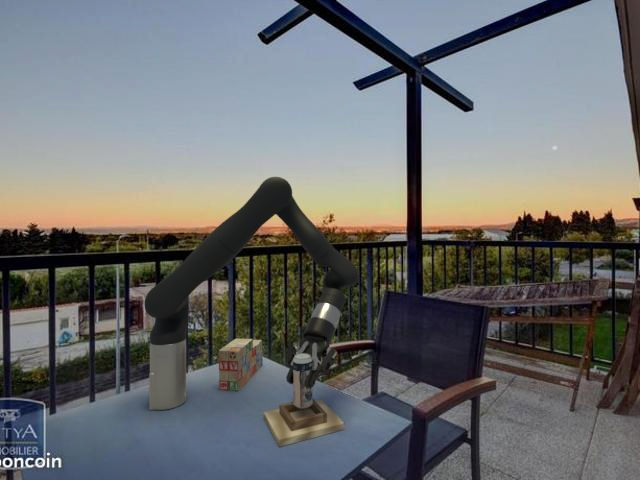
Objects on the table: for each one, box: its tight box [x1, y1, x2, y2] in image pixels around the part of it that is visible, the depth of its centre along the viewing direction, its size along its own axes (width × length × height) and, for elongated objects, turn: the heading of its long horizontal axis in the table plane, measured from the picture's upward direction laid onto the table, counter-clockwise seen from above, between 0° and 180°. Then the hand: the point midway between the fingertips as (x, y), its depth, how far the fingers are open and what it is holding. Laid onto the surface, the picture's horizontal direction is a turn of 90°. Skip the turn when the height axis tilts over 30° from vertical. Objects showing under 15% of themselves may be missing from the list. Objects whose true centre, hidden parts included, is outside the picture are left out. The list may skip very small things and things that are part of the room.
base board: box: [263, 397, 345, 447], centre depth 82 cm, size 16×13×4 cm
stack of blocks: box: [218, 338, 263, 392], centre depth 111 cm, size 21×6×12 cm, turn 170°
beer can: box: [292, 353, 313, 408], centre depth 82 cm, size 5×5×12 cm
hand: (298, 384), depth 80 cm, fingers closed on beer can, 4 cm apart
